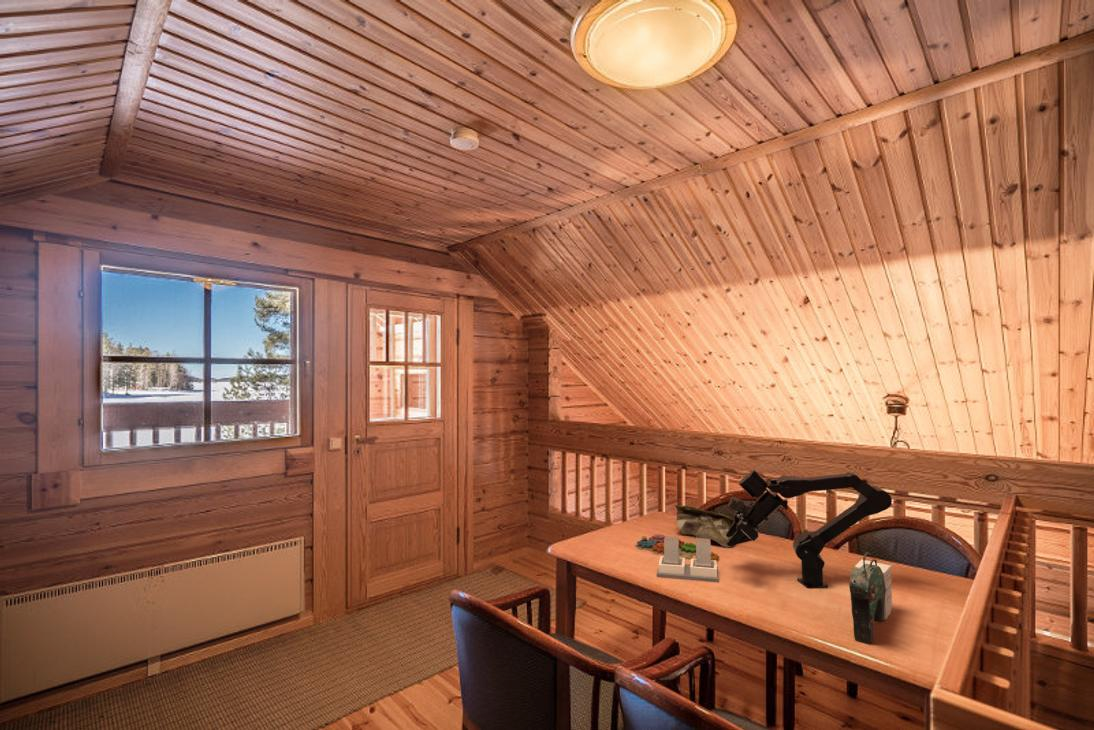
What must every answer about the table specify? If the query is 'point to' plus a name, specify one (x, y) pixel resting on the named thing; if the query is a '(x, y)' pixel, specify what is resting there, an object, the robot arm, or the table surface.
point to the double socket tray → (688, 571)
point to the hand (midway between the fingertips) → (727, 540)
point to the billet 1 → (671, 550)
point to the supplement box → (888, 584)
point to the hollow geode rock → (704, 524)
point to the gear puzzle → (657, 547)
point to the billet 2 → (703, 553)
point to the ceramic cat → (867, 599)
